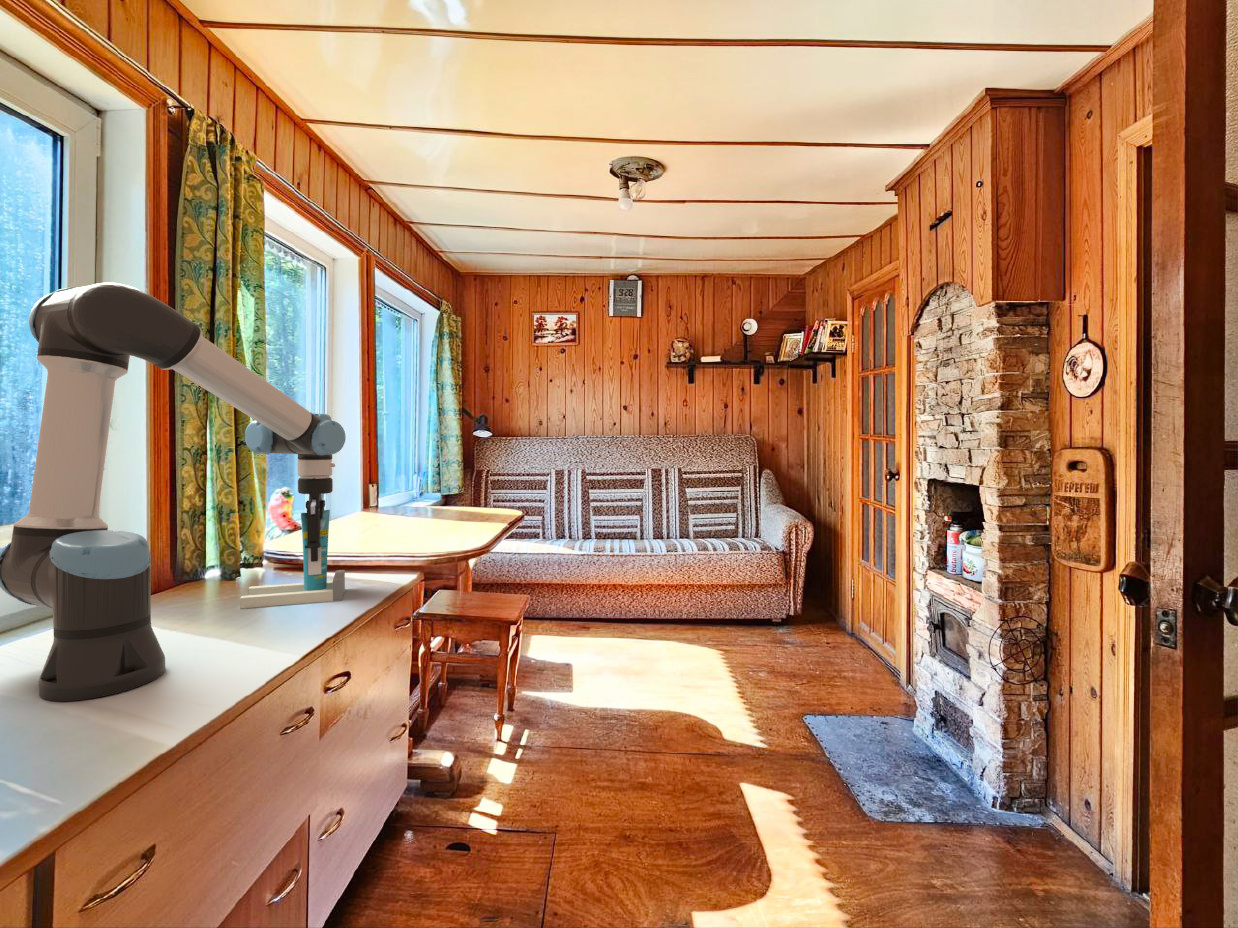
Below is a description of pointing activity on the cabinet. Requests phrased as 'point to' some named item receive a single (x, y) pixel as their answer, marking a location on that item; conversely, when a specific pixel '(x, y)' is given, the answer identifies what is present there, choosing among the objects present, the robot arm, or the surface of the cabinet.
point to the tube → (321, 579)
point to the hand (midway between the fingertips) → (316, 571)
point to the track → (293, 593)
